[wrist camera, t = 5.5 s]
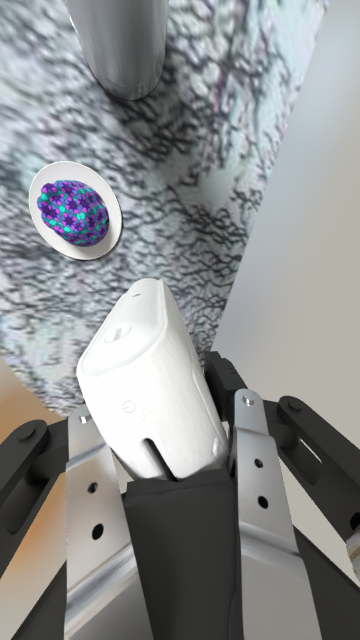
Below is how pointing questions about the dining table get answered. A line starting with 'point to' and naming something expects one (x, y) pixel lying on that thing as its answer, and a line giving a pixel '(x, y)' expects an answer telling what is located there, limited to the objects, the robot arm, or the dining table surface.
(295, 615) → the robot arm
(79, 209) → the pudding
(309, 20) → the dining table surface
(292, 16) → the dining table surface
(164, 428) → the photo printer
